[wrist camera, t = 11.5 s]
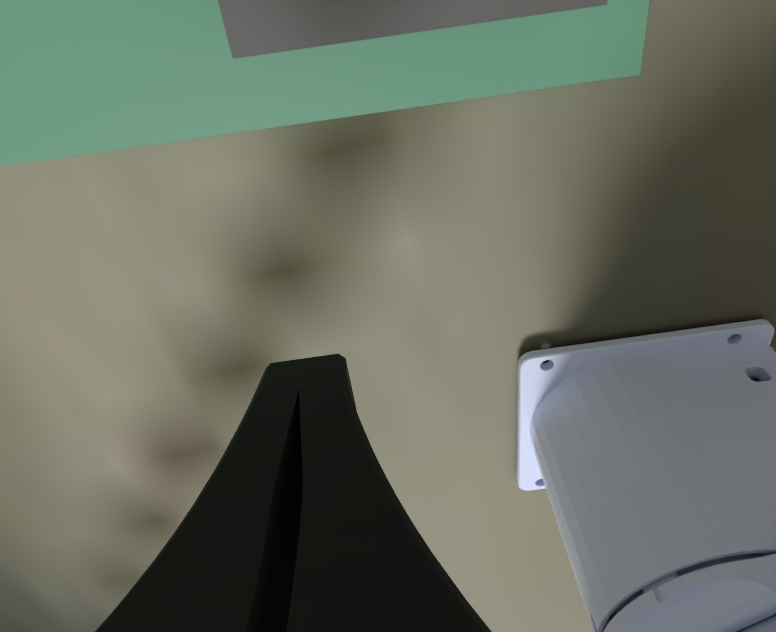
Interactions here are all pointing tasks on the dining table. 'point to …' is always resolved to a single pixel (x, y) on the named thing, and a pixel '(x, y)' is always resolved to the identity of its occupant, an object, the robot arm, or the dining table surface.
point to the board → (281, 63)
